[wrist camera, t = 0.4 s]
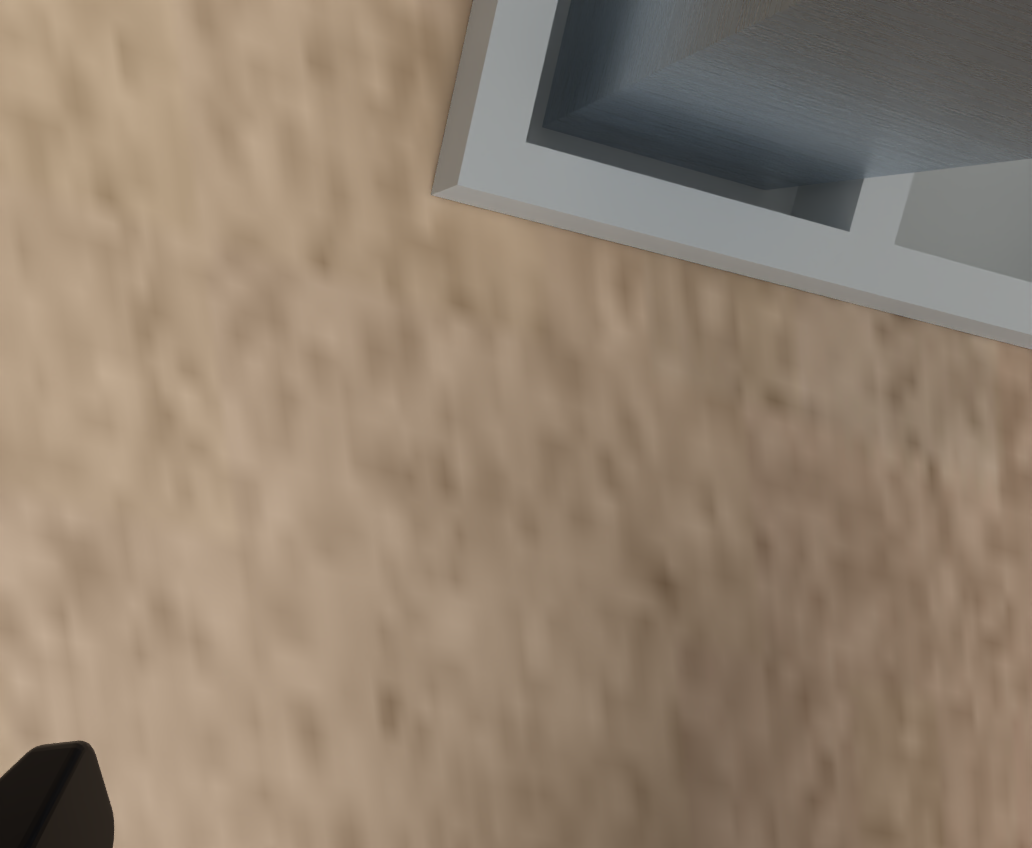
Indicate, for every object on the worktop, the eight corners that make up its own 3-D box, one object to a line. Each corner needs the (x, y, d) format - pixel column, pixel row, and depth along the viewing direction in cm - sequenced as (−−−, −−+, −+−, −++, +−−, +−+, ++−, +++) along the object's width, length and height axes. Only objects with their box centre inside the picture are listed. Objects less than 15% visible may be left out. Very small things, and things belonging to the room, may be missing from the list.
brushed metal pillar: (764, 190, 20) (1487, 104, 8) (542, 126, 19) (989, -91, 7) (801, 46, 20) (1623, -279, 8) (577, -28, 19) (1120, -558, 6)
